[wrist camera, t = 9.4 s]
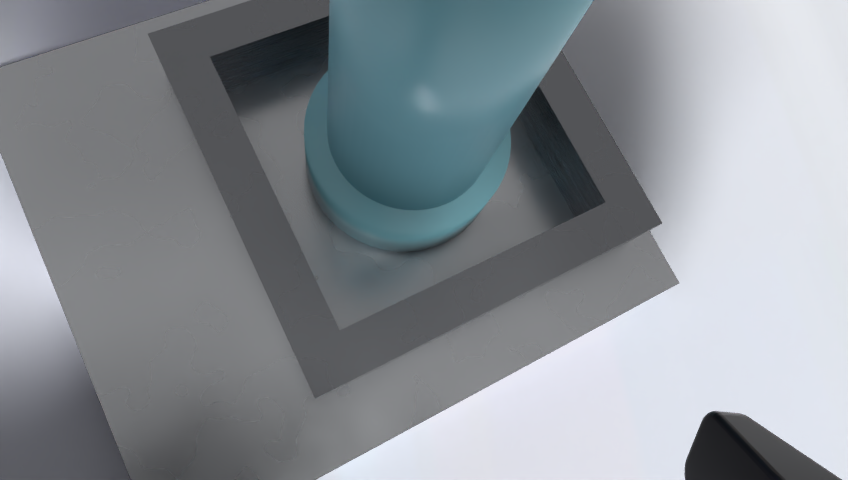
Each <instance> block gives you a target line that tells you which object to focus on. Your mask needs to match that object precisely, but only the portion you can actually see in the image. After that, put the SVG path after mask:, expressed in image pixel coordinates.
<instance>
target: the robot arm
mask: <svg viewBox="0 0 848 480" xmlns="http://www.w3.org/2000/svg"><path fill="white" fill-rule="evenodd" d="M685 480H841V479H840V478H838V477H837V476H836V475H834V474H833V473H831V472H830V471H828V470H827V469H825V468H824V467H822V466H821V465H819V464H818V463H816V462H815V461H813V460H812V459H810V458H809V457H807V456H806V455H804V454H803V453H801V452H800V451H798V450H797V449H795V448H794V447H792V446H791V445H789V444H788V443H786V442H785V441H783V440H782V439H780V438H779V437H777V436H776V435H774V434H773V433H771V432H770V431H768V430H767V429H766V428H764V427H763V426H761V425H760V424H758V423H757V422H755V421H754V420H752V419H751V418H749V417H747V416H746V415H743V414H740V413H730V412H719V411H713V412H710V413H708V414H707V415H706V416H705V417H704V418H703V420H702V422H701V425H700V427H699V430H698V432H697V434H696V437H695V439H694V442H693V444H692V447H691V449H690V452H689V454H688V457H687V459H686V463H685Z"/></svg>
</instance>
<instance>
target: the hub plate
mask: <svg viewBox="0 0 848 480" xmlns="http://www.w3.org/2000/svg"><path fill="white" fill-rule="evenodd" d="M328 55H329V0H209V1H206V2H203V3H199V4H196V5H193V6H190V7H187V8H184V9H181V10H177V11H174V12H171V13H168V14H165V15H162V16H159V17H156V18H152V19H149V20H146V21H143V22H140V23H137V24H134V25H131V26H127V27H124V28H121V29H118V30H115V31H112V32H109V33H105V34H102V35H99V36H96V37H93V38H90V39H87V40H84V41H80V42H77V43H74V44H71V45H68V46H65V47H62V48H58V49H55V50H52V51H49V52H46V53H43V54H40V55H37V56H33V57H30V58H27V59H24V60H21V61H18V62H15V63H12V64H8V65H5V66H2V67H0V153H1V155H2V158H3V160H4V163H5V165H6V168H7V170H8V173H9V175H10V178H11V180H12V183H13V185H14V188H15V190H16V193H17V195H18V198H19V200H20V203H21V205H22V208H23V210H24V213H25V215H26V218H27V220H28V223H29V226H30V228H31V231H32V233H33V236H34V238H35V241H36V243H37V246H38V248H39V251H40V253H41V256H42V258H43V261H44V263H45V266H46V268H47V271H48V273H49V276H50V278H51V281H52V283H53V286H54V288H55V291H56V293H57V296H58V298H59V301H60V303H61V306H62V308H63V311H64V313H65V316H66V318H67V321H68V323H69V326H70V328H71V331H72V333H73V336H74V338H75V341H76V343H77V346H78V349H79V351H80V354H81V356H82V359H83V361H84V364H85V366H86V369H87V371H88V374H89V376H90V379H91V381H92V384H93V386H94V389H95V391H96V394H97V396H98V399H99V401H100V404H101V406H102V409H103V411H104V414H105V416H106V419H107V421H108V424H109V426H110V429H111V431H112V434H113V436H114V439H115V441H116V444H117V446H118V449H119V451H120V454H121V456H122V459H123V461H124V464H125V467H126V469H127V472H128V474H129V477H130V479H131V480H316V479H318V478H320V477H321V476H323V475H325V474H327V473H329V472H331V471H332V470H334V469H336V468H338V467H340V466H342V465H344V464H345V463H347V462H349V461H351V460H353V459H355V458H357V457H358V456H360V455H362V454H364V453H366V452H368V451H369V450H371V449H373V448H375V447H377V446H379V445H381V444H382V443H384V442H386V441H388V440H390V439H392V438H394V437H395V436H397V435H399V434H401V433H403V432H405V431H407V430H408V429H410V428H412V427H414V426H416V425H418V424H419V423H421V422H423V421H425V420H427V419H429V418H431V417H432V416H434V415H436V414H438V413H440V412H442V411H444V410H445V409H447V408H449V407H451V406H453V405H455V404H456V403H458V402H460V401H462V400H464V399H466V398H468V397H469V396H471V395H473V394H475V393H477V392H479V391H481V390H482V389H484V388H486V387H488V386H490V385H492V384H493V383H495V382H497V381H499V380H501V379H503V378H505V377H506V376H508V375H510V374H512V373H514V372H516V371H518V370H519V369H521V368H523V367H525V366H527V365H529V364H530V363H532V362H534V361H536V360H538V359H540V358H542V357H543V356H545V355H547V354H549V353H551V352H553V351H555V350H556V349H558V348H560V347H562V346H564V345H566V344H568V343H569V342H571V341H573V340H575V339H577V338H579V337H580V336H582V335H584V334H586V333H588V332H590V331H592V330H593V329H595V328H597V327H599V326H601V325H603V324H605V323H606V322H608V321H610V320H612V319H614V318H616V317H617V316H619V315H621V314H623V313H625V312H627V311H629V310H630V309H632V308H634V307H636V306H638V305H640V304H642V303H643V302H645V301H647V300H649V299H651V298H653V297H654V296H656V295H658V294H660V293H662V292H664V291H666V290H667V289H669V288H671V287H673V286H675V285H677V284H679V281H678V280H677V278H676V276H675V274H674V273H673V271H672V269H671V268H670V266H669V264H668V262H667V261H666V259H665V257H664V255H663V254H662V252H661V250H660V249H659V247H658V245H657V243H656V242H655V240H654V238H653V237H652V235H651V233H650V231H649V230H651V229H653V228H655V227H656V226H658V225H660V224H662V222H661V220H660V218H659V217H658V215H657V213H656V212H655V210H654V208H653V206H652V205H651V203H650V201H649V200H648V198H647V196H646V194H645V193H644V191H643V189H642V188H641V186H640V184H639V183H638V181H637V179H636V177H635V176H634V174H633V172H632V171H631V169H630V167H629V165H628V164H627V162H626V160H625V159H624V157H623V155H622V153H621V152H620V150H619V148H618V147H617V145H616V143H615V142H614V140H613V138H612V136H611V135H610V133H609V131H608V130H607V128H606V126H605V124H604V123H603V121H602V119H601V118H600V116H599V114H598V112H597V111H596V109H595V107H594V106H593V104H592V102H591V100H590V99H589V97H588V95H587V94H586V92H585V90H584V89H583V87H582V85H581V83H580V82H579V80H578V78H577V77H576V75H575V73H574V71H573V70H572V68H571V66H570V65H569V63H568V61H567V59H566V58H565V56H564V54H563V53H562V51H560V53H559V54H558V56H557V58H556V59H555V61H554V62H553V64H552V65H551V67H550V68H549V70H548V71H547V73H546V74H545V76H544V78H543V79H542V81H541V82H540V84H539V85H538V87H537V88H536V90H535V91H534V93H533V94H532V96H531V97H530V99H529V101H528V102H527V104H526V105H525V107H524V108H523V110H522V111H521V113H520V114H519V116H518V117H517V119H516V121H515V122H514V124H513V125H512V127H511V128H510V134H511V150H510V158H509V163H508V167H507V170H506V173H505V175H504V178H503V180H502V182H501V184H500V186H499V187H498V189H497V191H496V192H495V193H494V195H493V196H492V197H491V199H490V200H489V201H488V202H487V204H486V205H485V206H484V208H483V209H482V210H481V212H480V213H479V214H478V215H477V217H476V218H475V219H474V221H473V222H472V223H471V224H470V225H469V226H468V227H467V228H466V229H465V230H464V231H463V232H461V233H460V234H458V235H457V236H456V237H454V238H453V239H451V240H449V241H447V242H445V243H443V244H441V245H438V246H435V247H433V248H429V249H425V250H420V251H411V252H395V251H389V250H382V249H379V248H375V247H372V246H369V245H367V244H364V243H362V242H360V241H358V240H356V239H354V238H352V237H351V236H349V235H347V234H346V233H345V232H343V231H342V230H341V229H340V228H338V227H337V226H336V225H335V224H334V223H333V222H332V221H331V220H330V219H329V218H328V217H327V215H326V214H325V213H324V212H323V210H322V209H321V208H320V206H319V204H318V202H317V201H316V199H315V197H314V195H313V192H312V190H311V187H310V184H309V180H308V176H307V169H306V158H305V143H304V120H305V114H306V109H307V106H308V103H309V100H310V97H311V95H312V93H313V91H314V89H315V87H316V85H317V84H318V82H319V81H320V79H321V78H322V77H323V75H324V74H325V73H326V72H327V71H328Z"/></svg>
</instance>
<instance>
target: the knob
mask: <svg viewBox="0 0 848 480" xmlns="http://www.w3.org/2000/svg"><path fill="white" fill-rule="evenodd" d="M593 1H594V0H329V55H328V71H327V72H326V73H325V74H324V75H323V77H322V78H321V79H320V81H319V82H318V84H317V85H316V87H315V89H314V91H313V93H312V95H311V97H310V100H309V103H308V106H307V109H306V114H305V120H304V143H305V158H306V169H307V176H308V180H309V184H310V187H311V190H312V192H313V195H314V197H315V199H316V201H317V202H318V204H319V206H320V208H321V209H322V210H323V212H324V213H325V214H326V215H327V217H328V218H329V219H330V220H331V221H332V222H333V223H334V224H335V225H336V226H337V227H338V228H340V229H341V230H342V231H343V232H345V233H346V234H347V235H349V236H351V237H352V238H354V239H356V240H358V241H360V242H362V243H364V244H367V245H369V246H372V247H375V248H379V249H382V250H389V251H395V252H411V251H420V250H425V249H429V248H433V247H435V246H438V245H441V244H443V243H445V242H447V241H449V240H451V239H453V238H454V237H456V236H457V235H458V234H460V233H461V232H463V231H464V230H465V229H466V228H467V227H468V226H469V225H470V224H471V223H472V222H473V221H474V219H475V218H476V217H477V215H478V214H479V213H480V212H481V210H482V209H483V208H484V206H485V205H486V204H487V202H488V201H489V200H490V199H491V197H492V196H493V195H494V193H495V192H496V191H497V189H498V187H499V186H500V184H501V182H502V180H503V178H504V175H505V173H506V170H507V167H508V163H509V158H510V150H511V134H510V128H511V127H512V125H513V124H514V122H515V121H516V119H517V117H518V116H519V114H520V113H521V111H522V110H523V108H524V107H525V105H526V104H527V102H528V101H529V99H530V97H531V96H532V94H533V93H534V91H535V90H536V88H537V87H538V85H539V84H540V82H541V81H542V79H543V78H544V76H545V74H546V73H547V71H548V70H549V68H550V67H551V65H552V64H553V62H554V61H555V59H556V58H557V56H558V54H559V53H560V51H561V50H562V48H563V47H564V45H565V44H566V42H567V41H568V39H569V38H570V36H571V35H572V33H573V31H574V30H575V28H576V27H577V25H578V24H579V22H580V21H581V19H582V18H583V16H584V15H585V13H586V11H587V10H588V8H589V7H590V5H591V4H592V2H593Z"/></svg>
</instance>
